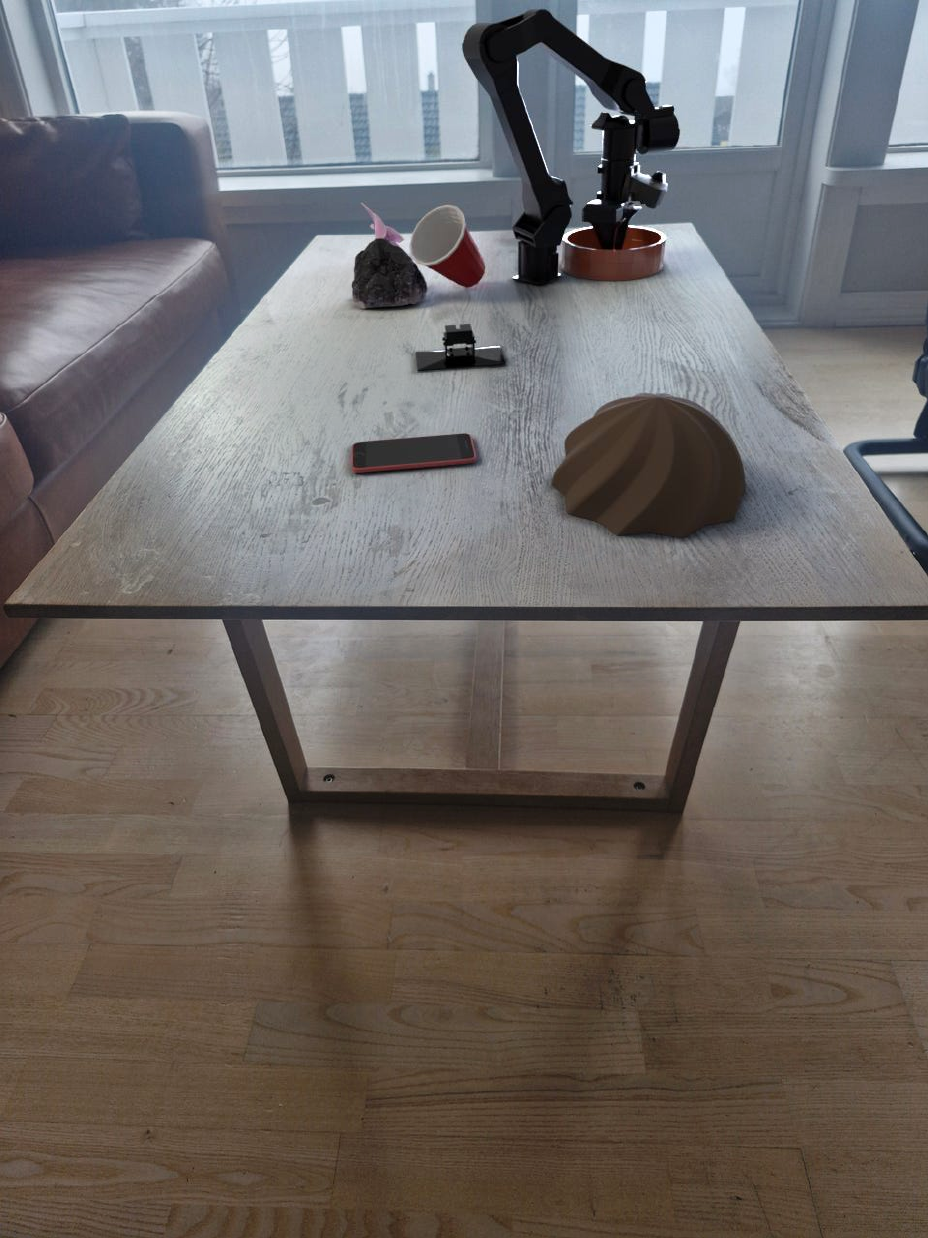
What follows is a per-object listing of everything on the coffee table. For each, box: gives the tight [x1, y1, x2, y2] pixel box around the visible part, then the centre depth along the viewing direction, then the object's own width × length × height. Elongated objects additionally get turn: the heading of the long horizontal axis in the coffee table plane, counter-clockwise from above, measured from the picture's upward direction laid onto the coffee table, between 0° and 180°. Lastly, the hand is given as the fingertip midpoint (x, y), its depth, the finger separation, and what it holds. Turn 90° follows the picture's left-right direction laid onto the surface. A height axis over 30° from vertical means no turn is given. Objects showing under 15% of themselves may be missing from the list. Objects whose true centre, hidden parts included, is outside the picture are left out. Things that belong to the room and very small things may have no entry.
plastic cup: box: [408, 204, 486, 289], centre depth 135 cm, size 11×11×12 cm
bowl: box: [561, 225, 667, 282], centre depth 146 cm, size 18×18×5 cm
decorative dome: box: [551, 392, 747, 538], centre depth 80 cm, size 19×20×10 cm
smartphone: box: [350, 432, 477, 474], centre depth 90 cm, size 7×1×14 cm
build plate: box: [415, 323, 507, 373], centre depth 112 cm, size 12×7×5 cm, turn 95°
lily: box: [360, 202, 405, 248], centre depth 156 cm, size 12×12×10 cm
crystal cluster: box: [351, 238, 428, 310], centre depth 135 cm, size 13×14×10 cm
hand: (613, 254), depth 146 cm, fingers closed on popsicle, 5 cm apart
